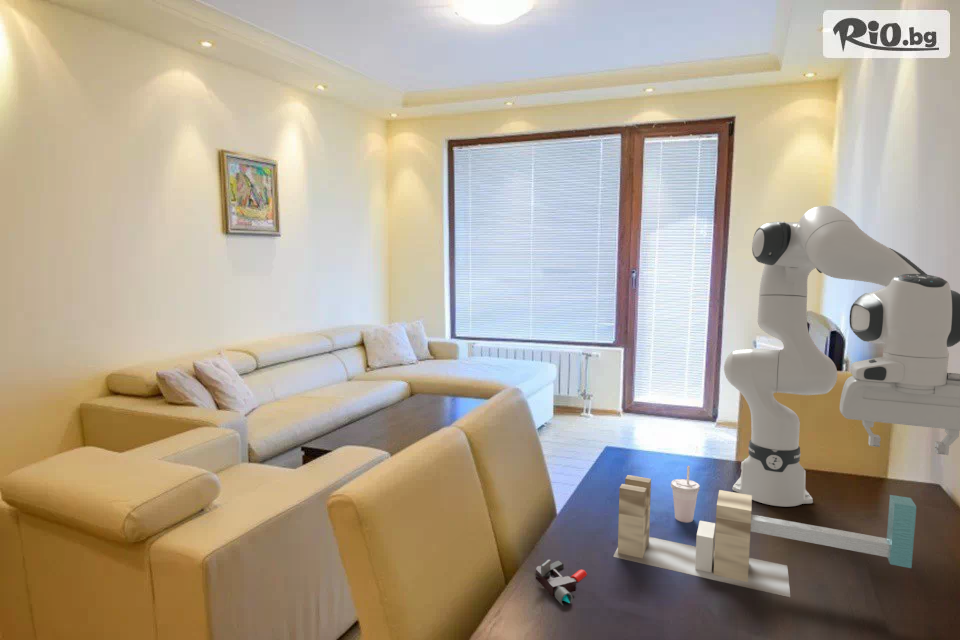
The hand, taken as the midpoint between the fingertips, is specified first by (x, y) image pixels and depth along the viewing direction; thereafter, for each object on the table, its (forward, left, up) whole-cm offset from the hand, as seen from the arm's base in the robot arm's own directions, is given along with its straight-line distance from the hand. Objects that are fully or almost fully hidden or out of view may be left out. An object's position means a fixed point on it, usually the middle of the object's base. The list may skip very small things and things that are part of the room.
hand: (906, 449), depth 97 cm
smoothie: (-19, -38, -30) cm, 51 cm away
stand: (0, -33, -29) cm, 44 cm away
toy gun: (+19, -54, -30) cm, 65 cm away
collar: (0, -31, -28) cm, 42 cm away
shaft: (0, -12, -20) cm, 23 cm away
